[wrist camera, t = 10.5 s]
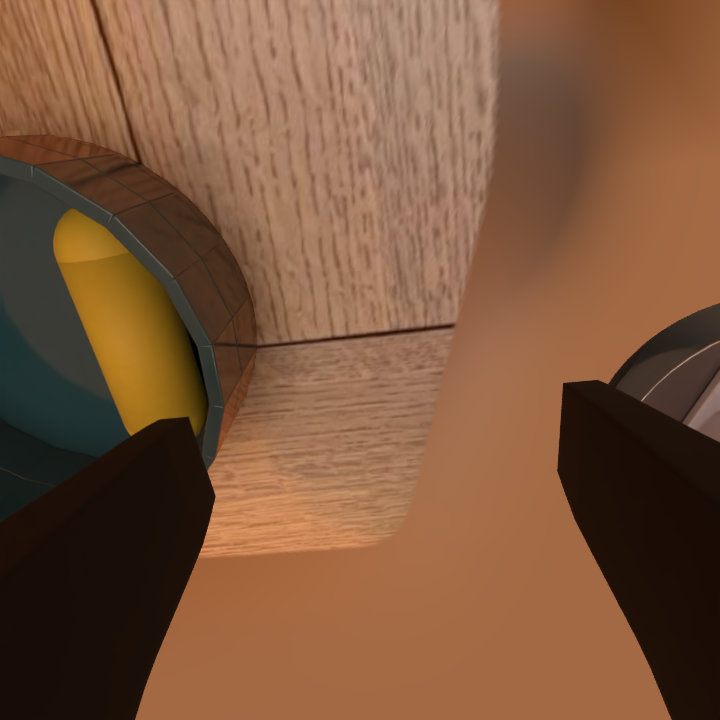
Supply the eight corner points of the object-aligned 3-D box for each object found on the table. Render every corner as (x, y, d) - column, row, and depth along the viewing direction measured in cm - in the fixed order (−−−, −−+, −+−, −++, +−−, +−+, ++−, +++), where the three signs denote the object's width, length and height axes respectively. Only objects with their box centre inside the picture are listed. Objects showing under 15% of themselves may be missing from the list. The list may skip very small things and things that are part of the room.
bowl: (288, 201, 18) (256, 229, 13) (229, 487, 24) (194, 572, 19) (-118, 81, 16) (-306, 67, 12) (-68, 416, 22) (-180, 490, 18)
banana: (136, 436, 21) (212, 412, 22) (137, 478, 18) (223, 448, 19) (35, 183, 16) (135, 167, 17) (15, 188, 13) (136, 170, 14)
